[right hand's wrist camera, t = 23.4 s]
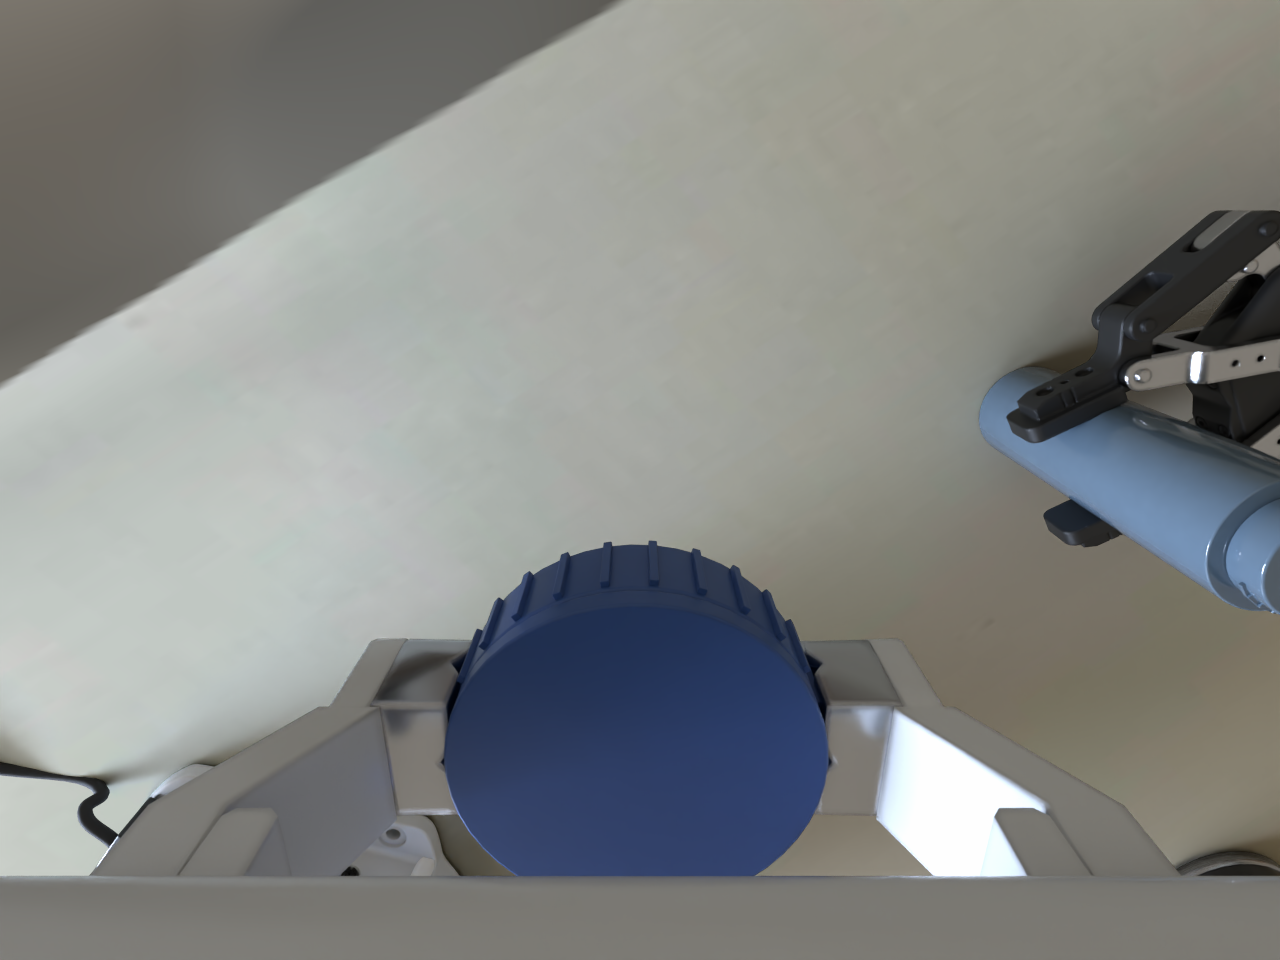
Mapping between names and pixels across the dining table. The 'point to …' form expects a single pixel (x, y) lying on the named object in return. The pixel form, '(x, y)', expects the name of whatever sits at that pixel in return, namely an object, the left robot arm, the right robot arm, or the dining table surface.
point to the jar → (1160, 488)
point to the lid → (636, 721)
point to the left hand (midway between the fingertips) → (1039, 481)
